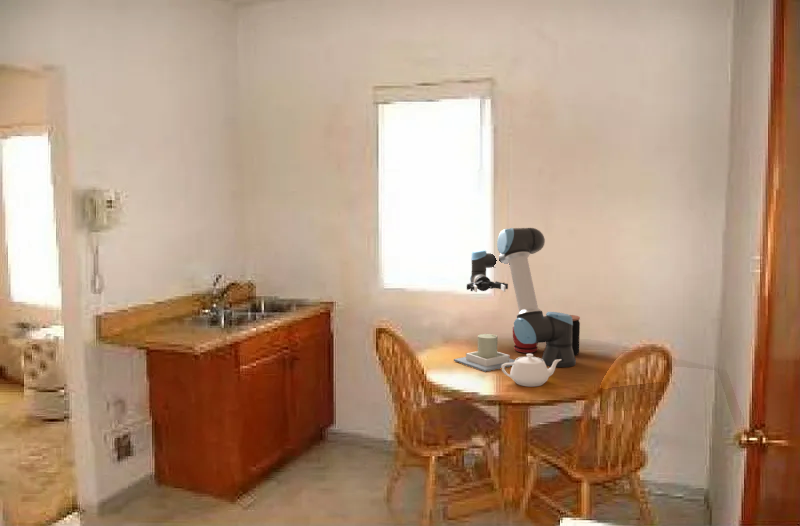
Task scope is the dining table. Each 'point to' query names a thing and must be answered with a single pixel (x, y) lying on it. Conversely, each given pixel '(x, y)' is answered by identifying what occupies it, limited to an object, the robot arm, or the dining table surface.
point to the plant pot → (523, 345)
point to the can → (487, 346)
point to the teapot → (530, 370)
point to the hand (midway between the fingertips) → (490, 289)
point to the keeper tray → (485, 361)
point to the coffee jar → (575, 334)
